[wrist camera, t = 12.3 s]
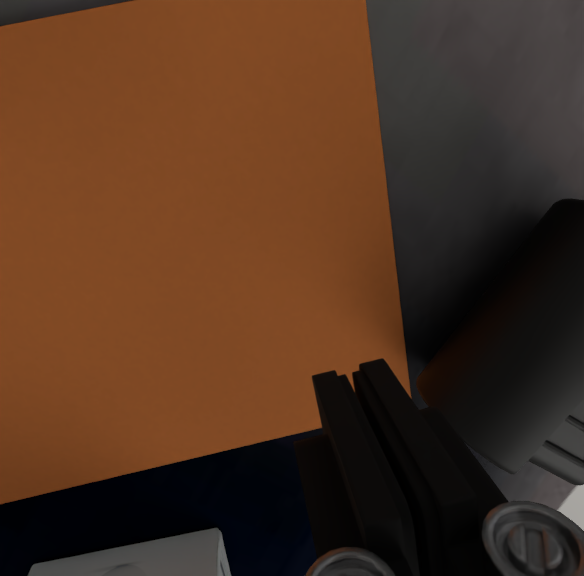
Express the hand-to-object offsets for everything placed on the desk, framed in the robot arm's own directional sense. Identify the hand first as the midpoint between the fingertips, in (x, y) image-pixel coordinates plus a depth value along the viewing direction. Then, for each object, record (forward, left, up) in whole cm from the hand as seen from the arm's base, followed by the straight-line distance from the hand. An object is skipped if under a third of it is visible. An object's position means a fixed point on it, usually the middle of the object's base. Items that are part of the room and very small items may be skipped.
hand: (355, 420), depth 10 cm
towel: (-2, -6, -11) cm, 13 cm away
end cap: (+4, +10, -11) cm, 15 cm away
